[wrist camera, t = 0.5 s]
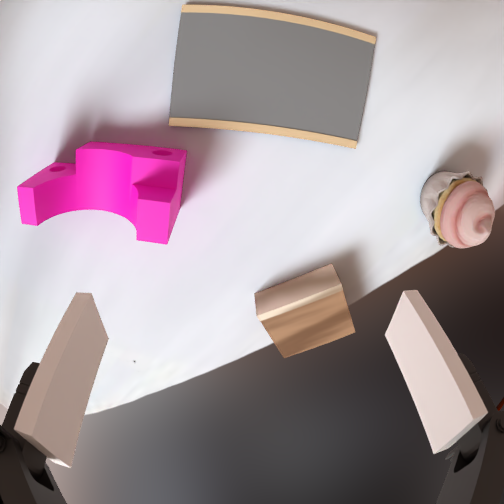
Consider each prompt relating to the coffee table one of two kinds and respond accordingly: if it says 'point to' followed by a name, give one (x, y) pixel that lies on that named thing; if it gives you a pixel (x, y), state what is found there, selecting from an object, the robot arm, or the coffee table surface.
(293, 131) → the mat
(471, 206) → the cupcake
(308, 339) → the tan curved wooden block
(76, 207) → the toy block
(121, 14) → the coffee table surface
